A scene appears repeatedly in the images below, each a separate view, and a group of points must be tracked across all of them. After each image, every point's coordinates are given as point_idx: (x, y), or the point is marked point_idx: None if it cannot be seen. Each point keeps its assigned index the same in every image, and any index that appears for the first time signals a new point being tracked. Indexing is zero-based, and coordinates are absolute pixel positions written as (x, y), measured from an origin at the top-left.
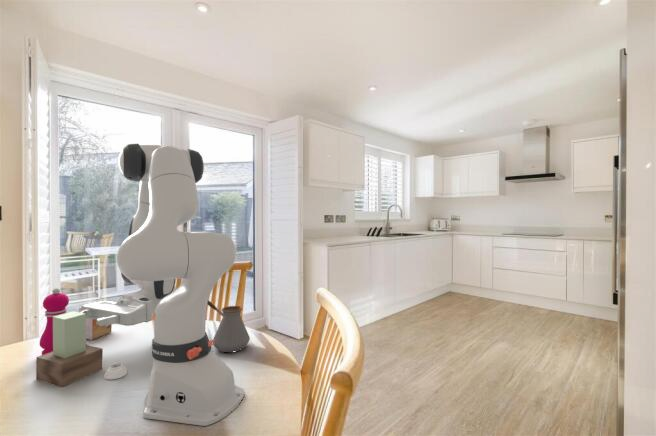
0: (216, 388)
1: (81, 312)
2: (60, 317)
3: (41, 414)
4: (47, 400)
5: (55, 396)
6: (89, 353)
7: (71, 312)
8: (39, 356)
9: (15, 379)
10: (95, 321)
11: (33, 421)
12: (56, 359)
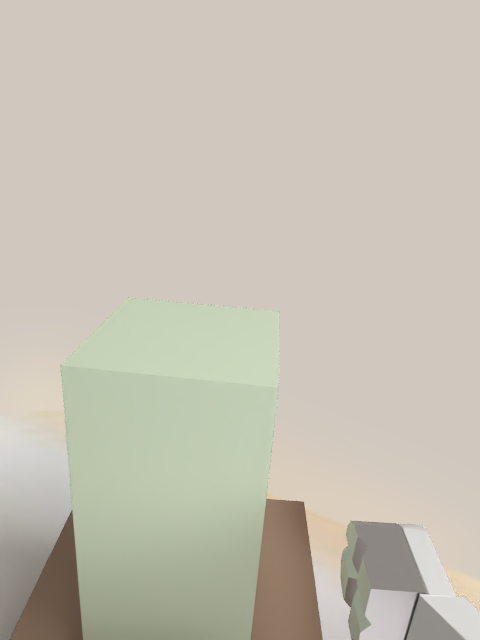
0: None
1: (453, 614)
2: (204, 310)
3: (19, 454)
4: (67, 500)
5: (58, 523)
6: (17, 631)
7: (257, 366)
8: (299, 510)
9: None
10: None
11: (16, 434)
12: None
